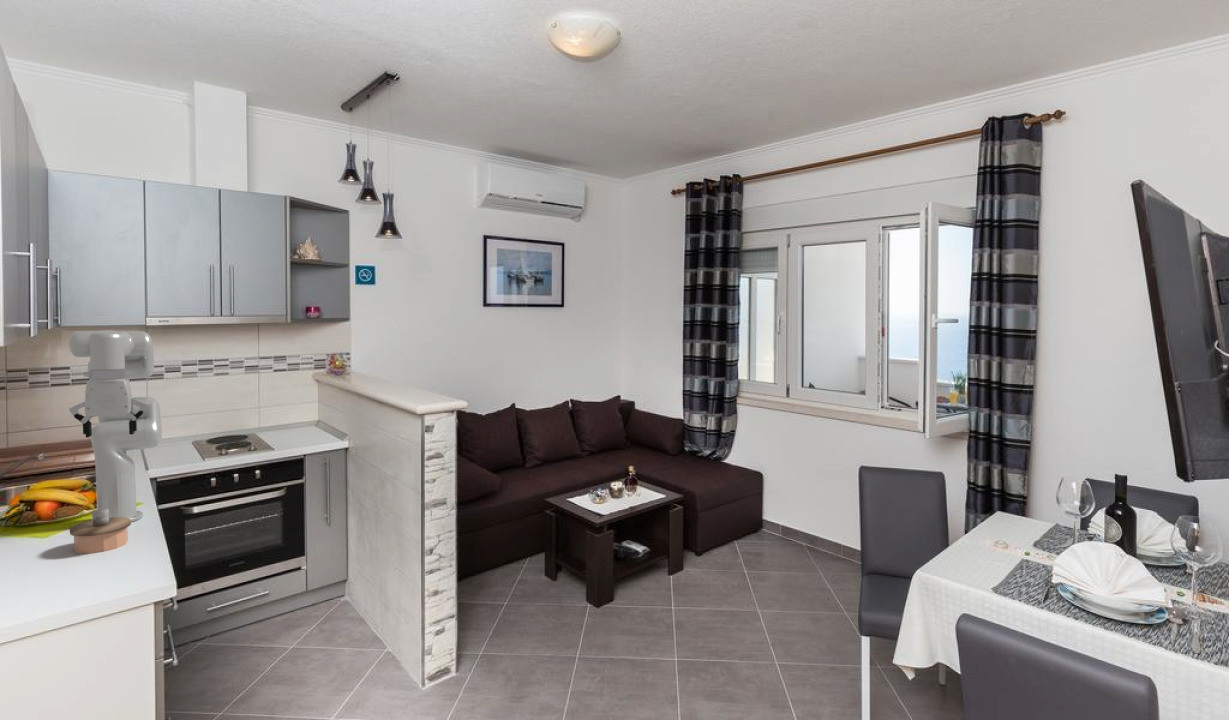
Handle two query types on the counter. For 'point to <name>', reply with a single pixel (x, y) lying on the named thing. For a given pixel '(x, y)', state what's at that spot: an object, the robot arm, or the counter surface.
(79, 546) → the bowl
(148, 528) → the counter surface
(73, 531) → the lid
